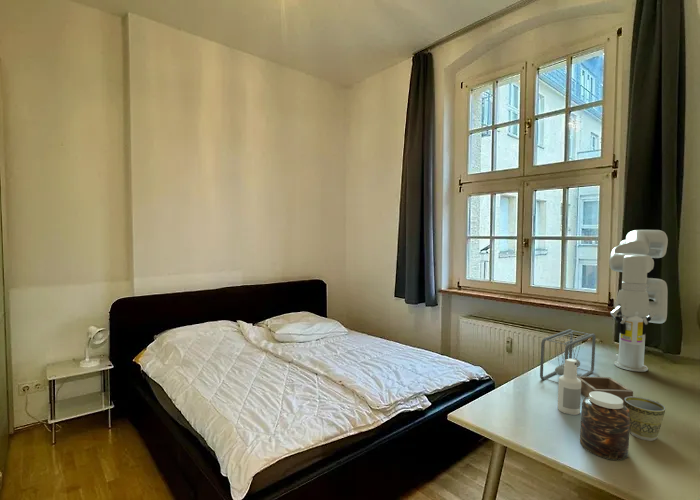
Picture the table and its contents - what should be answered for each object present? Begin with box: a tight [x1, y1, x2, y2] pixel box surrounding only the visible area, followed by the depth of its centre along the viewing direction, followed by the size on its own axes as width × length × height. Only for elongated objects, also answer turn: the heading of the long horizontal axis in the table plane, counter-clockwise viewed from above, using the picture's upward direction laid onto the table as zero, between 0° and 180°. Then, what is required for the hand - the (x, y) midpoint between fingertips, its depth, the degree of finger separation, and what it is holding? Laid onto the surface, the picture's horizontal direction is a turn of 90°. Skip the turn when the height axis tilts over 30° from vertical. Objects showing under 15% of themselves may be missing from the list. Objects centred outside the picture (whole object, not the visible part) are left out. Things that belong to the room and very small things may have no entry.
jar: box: [579, 391, 630, 461], centre depth 109 cm, size 12×12×15 cm
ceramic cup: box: [624, 395, 666, 442], centre depth 117 cm, size 13×10×10 cm
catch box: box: [577, 375, 634, 406], centre depth 144 cm, size 13×13×5 cm
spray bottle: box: [557, 357, 582, 416], centre depth 132 cm, size 7×7×18 cm
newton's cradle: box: [539, 328, 596, 385], centre depth 164 cm, size 30×10×18 cm, turn 129°
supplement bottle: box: [621, 312, 643, 345], centre depth 145 cm, size 7×7×13 cm
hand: (631, 333), depth 145 cm, fingers closed on supplement bottle, 6 cm apart
